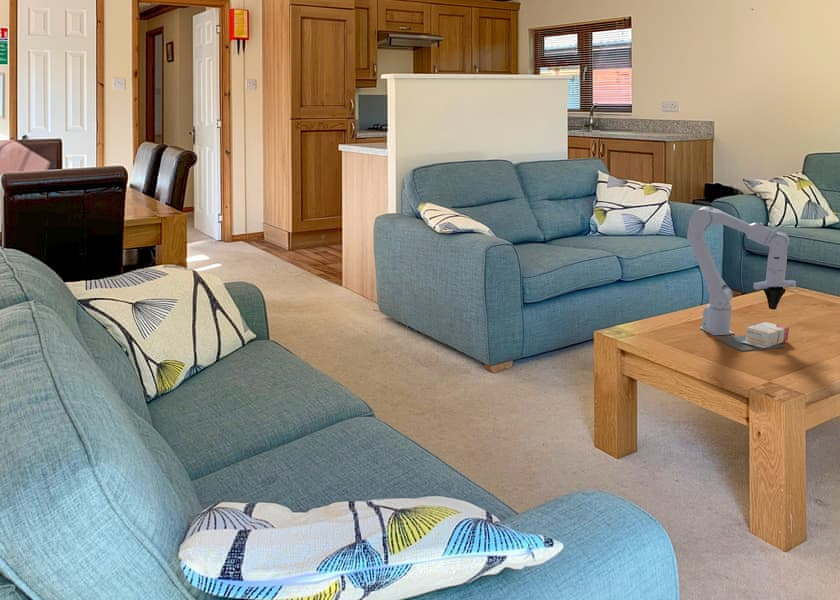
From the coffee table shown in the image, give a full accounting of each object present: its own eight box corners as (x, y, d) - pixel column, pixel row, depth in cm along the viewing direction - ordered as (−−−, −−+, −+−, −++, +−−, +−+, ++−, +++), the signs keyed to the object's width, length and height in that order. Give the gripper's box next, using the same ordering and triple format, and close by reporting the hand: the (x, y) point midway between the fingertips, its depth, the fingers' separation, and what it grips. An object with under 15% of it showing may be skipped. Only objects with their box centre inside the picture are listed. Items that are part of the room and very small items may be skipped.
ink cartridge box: (789, 326, 255) (765, 334, 246) (787, 340, 256) (763, 349, 248) (765, 320, 261) (740, 328, 253) (763, 334, 263) (739, 343, 254)
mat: (716, 338, 261) (716, 337, 261) (757, 335, 264) (757, 334, 263) (741, 351, 247) (741, 350, 247) (783, 347, 250) (784, 346, 250)
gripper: (764, 272, 249) (760, 313, 252) (803, 270, 252) (799, 310, 255) (751, 268, 256) (747, 307, 259) (789, 266, 258) (785, 305, 262)
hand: (772, 308), depth 257 cm, fingers closed
